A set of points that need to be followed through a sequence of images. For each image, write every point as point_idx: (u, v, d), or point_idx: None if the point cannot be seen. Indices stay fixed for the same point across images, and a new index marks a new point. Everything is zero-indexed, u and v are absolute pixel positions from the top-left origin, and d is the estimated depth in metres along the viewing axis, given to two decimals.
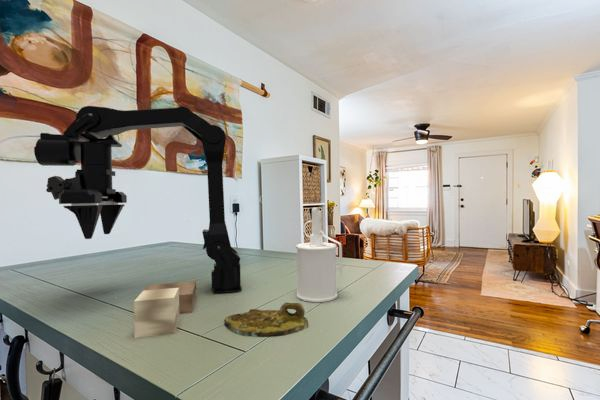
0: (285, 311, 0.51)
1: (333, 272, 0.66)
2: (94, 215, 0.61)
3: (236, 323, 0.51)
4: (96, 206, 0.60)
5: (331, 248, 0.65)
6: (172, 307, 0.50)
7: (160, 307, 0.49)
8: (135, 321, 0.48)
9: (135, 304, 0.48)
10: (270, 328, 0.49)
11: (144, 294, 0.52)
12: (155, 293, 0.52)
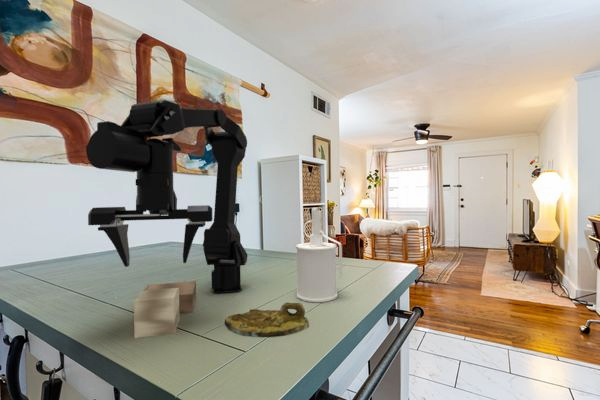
0: (285, 311, 0.51)
1: (333, 272, 0.66)
2: None
3: (236, 323, 0.51)
4: (99, 229, 0.47)
5: (331, 248, 0.65)
6: (172, 307, 0.50)
7: (160, 307, 0.49)
8: (135, 321, 0.48)
9: (135, 304, 0.48)
10: (270, 328, 0.49)
11: (144, 294, 0.52)
12: (155, 293, 0.52)
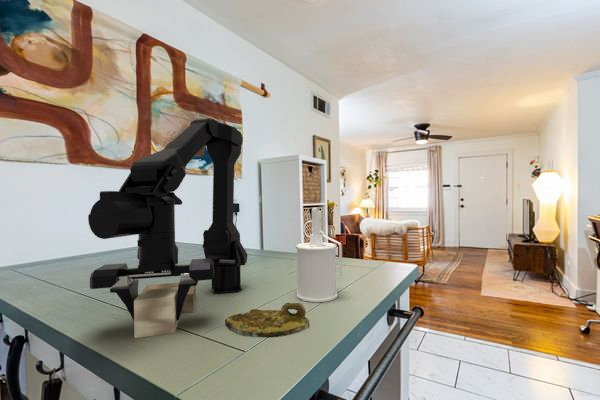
0: (286, 311, 0.51)
1: (333, 272, 0.66)
2: None
3: (237, 323, 0.51)
4: (111, 291, 0.48)
5: (331, 248, 0.65)
6: (172, 306, 0.50)
7: (160, 306, 0.49)
8: (135, 320, 0.48)
9: (135, 303, 0.48)
10: (271, 328, 0.49)
11: (144, 293, 0.52)
12: (155, 293, 0.52)
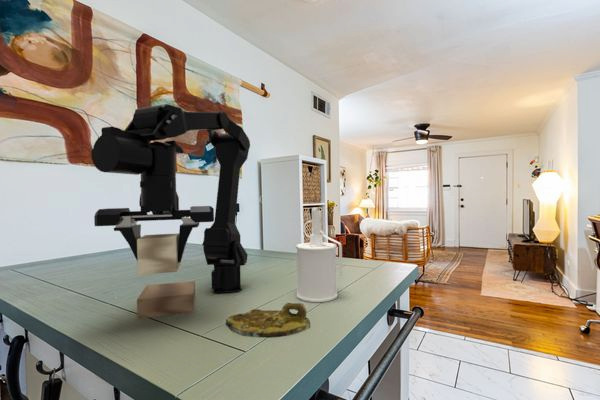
0: (287, 311, 0.51)
1: (333, 272, 0.66)
2: None
3: (238, 323, 0.51)
4: (115, 229, 0.50)
5: (331, 248, 0.65)
6: (174, 246, 0.52)
7: (162, 245, 0.51)
8: (138, 258, 0.50)
9: (138, 242, 0.50)
10: (272, 328, 0.49)
11: (146, 236, 0.54)
12: (157, 235, 0.54)
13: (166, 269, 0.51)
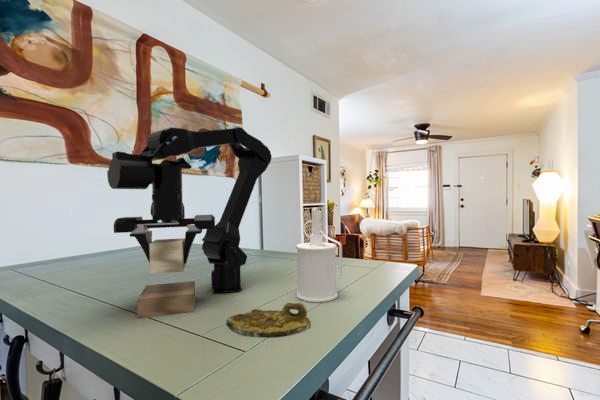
0: (287, 311, 0.51)
1: (333, 272, 0.66)
2: None
3: (238, 323, 0.51)
4: (131, 235, 0.58)
5: (331, 248, 0.65)
6: (180, 249, 0.60)
7: (171, 249, 0.60)
8: (150, 260, 0.59)
9: (150, 246, 0.59)
10: (272, 328, 0.49)
11: (157, 241, 0.63)
12: (166, 240, 0.63)
13: (174, 269, 0.60)
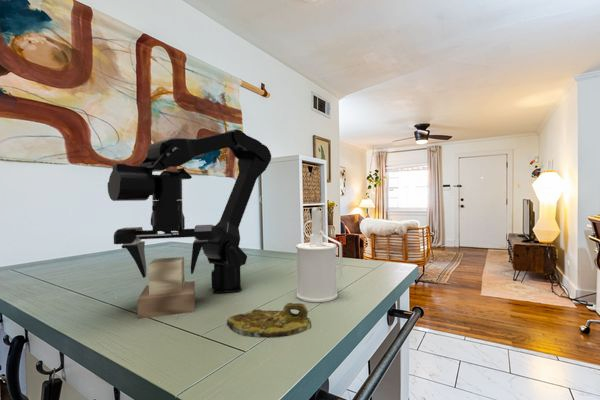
0: (288, 311, 0.51)
1: (333, 272, 0.66)
2: None
3: (239, 324, 0.51)
4: (123, 247, 0.58)
5: (331, 248, 0.65)
6: (179, 270, 0.61)
7: (170, 269, 0.60)
8: (149, 281, 0.59)
9: (149, 267, 0.59)
10: (273, 328, 0.49)
11: (156, 260, 0.62)
12: (164, 260, 0.63)
13: (173, 289, 0.60)
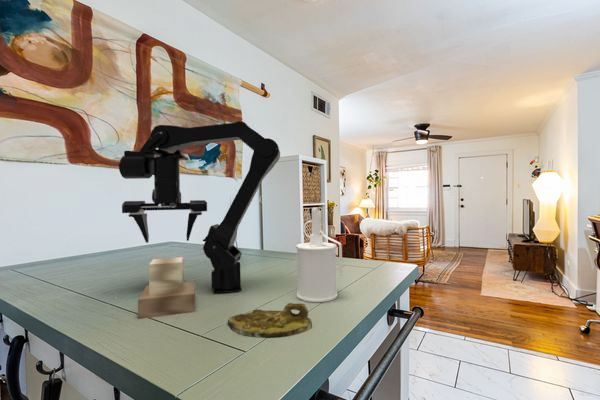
0: (289, 312, 0.51)
1: (333, 272, 0.66)
2: None
3: (239, 324, 0.51)
4: (129, 215, 0.69)
5: (331, 248, 0.65)
6: (180, 270, 0.61)
7: (170, 269, 0.60)
8: (150, 281, 0.59)
9: (150, 267, 0.59)
10: (273, 328, 0.49)
11: (155, 261, 0.62)
12: (164, 260, 0.63)
13: (173, 289, 0.60)
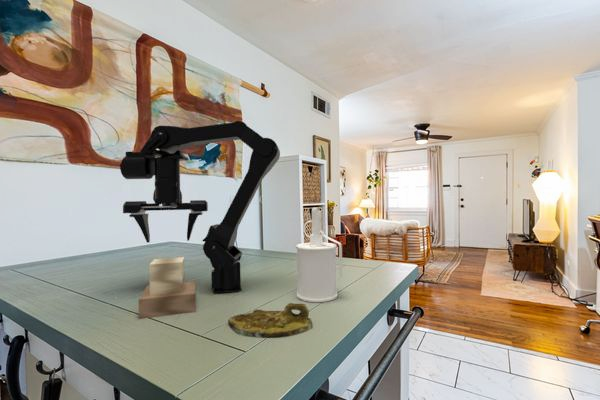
0: (289, 312, 0.51)
1: (333, 272, 0.66)
2: None
3: (240, 324, 0.51)
4: (130, 215, 0.70)
5: (331, 248, 0.65)
6: (180, 270, 0.61)
7: (171, 269, 0.60)
8: (150, 281, 0.59)
9: (150, 267, 0.59)
10: (274, 328, 0.49)
11: (156, 260, 0.62)
12: (165, 260, 0.63)
13: (174, 290, 0.60)
